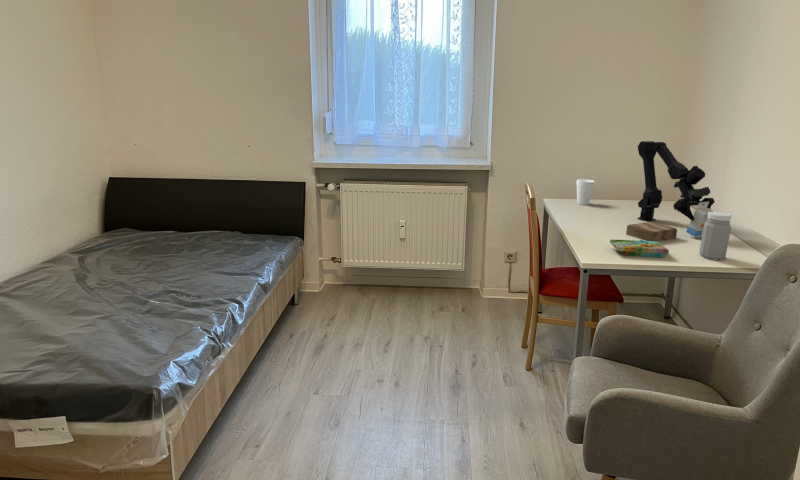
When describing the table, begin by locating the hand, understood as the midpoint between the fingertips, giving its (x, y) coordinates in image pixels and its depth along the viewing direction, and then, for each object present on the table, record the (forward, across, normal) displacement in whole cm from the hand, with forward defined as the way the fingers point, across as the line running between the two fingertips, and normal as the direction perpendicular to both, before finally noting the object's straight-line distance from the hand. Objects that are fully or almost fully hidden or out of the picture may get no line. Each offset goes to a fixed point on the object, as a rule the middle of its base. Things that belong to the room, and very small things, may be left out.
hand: (701, 219), depth 272 cm
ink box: (+4, 0, +6) cm, 7 cm away
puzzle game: (+16, -45, -4) cm, 48 cm away
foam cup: (-45, -11, +58) cm, 74 cm away
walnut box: (+2, -21, +11) cm, 24 cm away
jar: (+24, -18, -13) cm, 33 cm away
